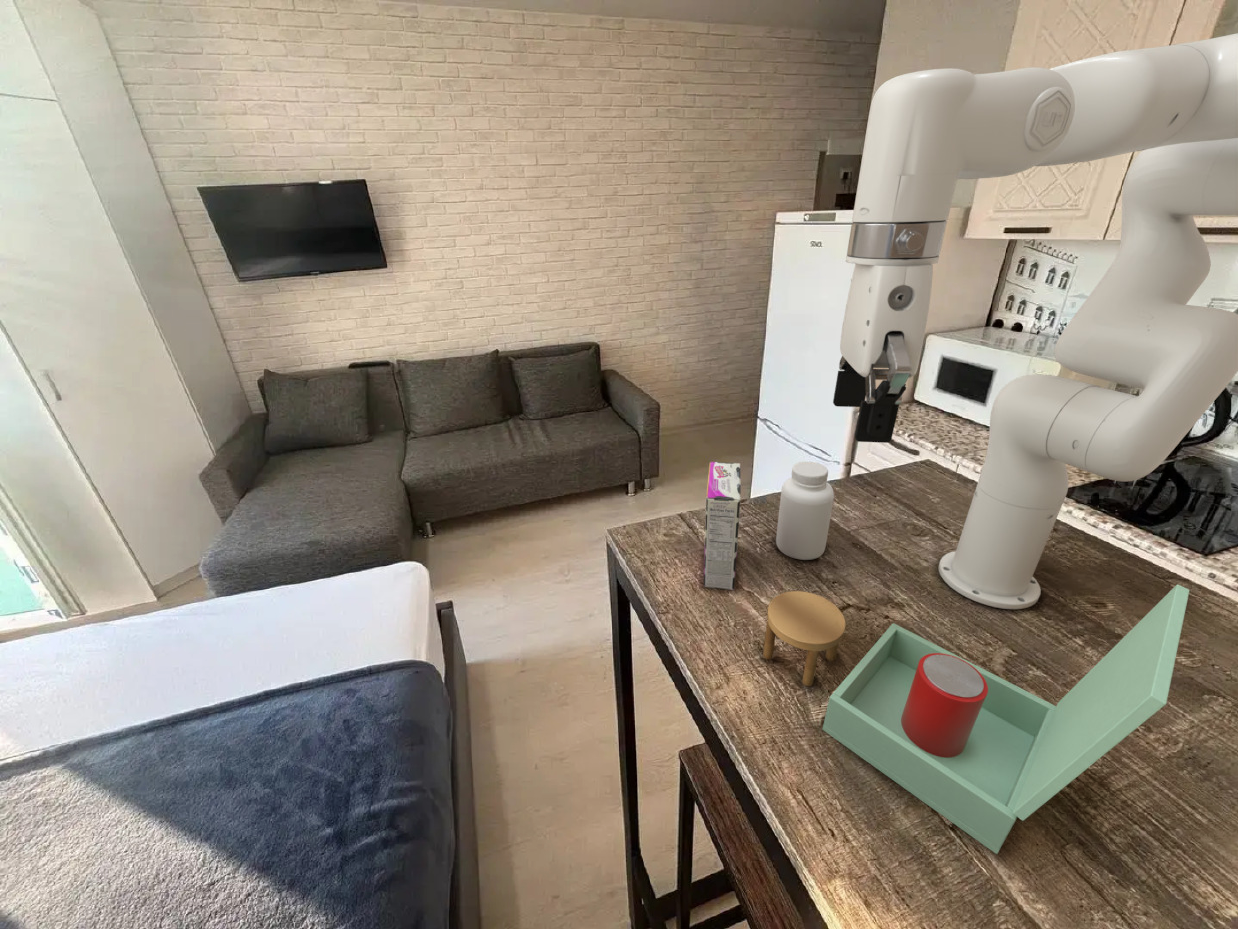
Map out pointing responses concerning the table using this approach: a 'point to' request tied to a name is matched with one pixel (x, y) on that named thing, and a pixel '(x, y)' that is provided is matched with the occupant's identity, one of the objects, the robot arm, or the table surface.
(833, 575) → the table surface
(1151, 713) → the lid
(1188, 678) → the table surface
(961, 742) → the soda can
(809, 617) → the stool
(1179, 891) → the table surface
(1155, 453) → the robot arm
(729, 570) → the candy bar box
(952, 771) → the box
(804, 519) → the pill bottle
